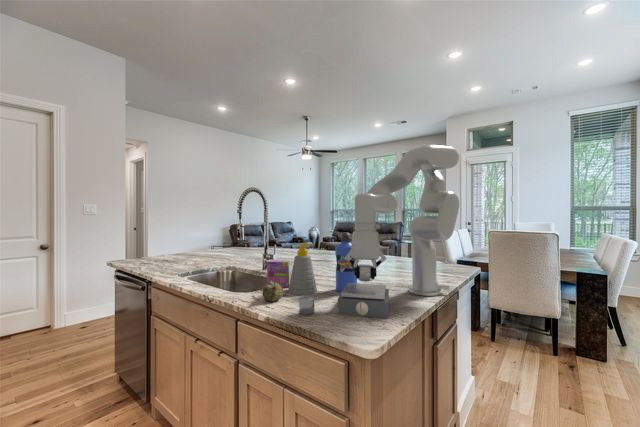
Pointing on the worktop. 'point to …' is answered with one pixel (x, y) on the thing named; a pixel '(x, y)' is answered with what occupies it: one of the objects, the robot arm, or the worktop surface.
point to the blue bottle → (344, 264)
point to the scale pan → (364, 291)
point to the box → (279, 272)
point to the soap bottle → (302, 274)
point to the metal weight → (365, 272)
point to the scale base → (364, 306)
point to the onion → (272, 291)
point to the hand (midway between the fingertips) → (365, 277)
